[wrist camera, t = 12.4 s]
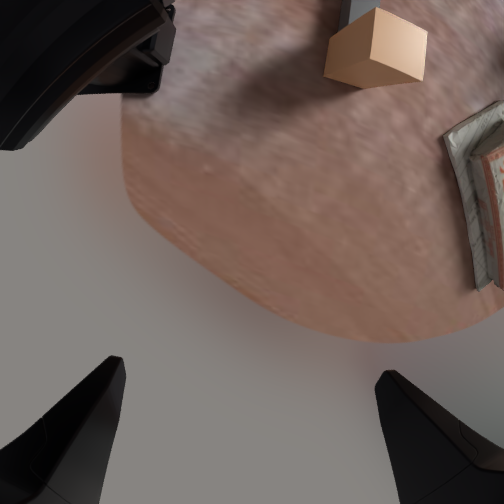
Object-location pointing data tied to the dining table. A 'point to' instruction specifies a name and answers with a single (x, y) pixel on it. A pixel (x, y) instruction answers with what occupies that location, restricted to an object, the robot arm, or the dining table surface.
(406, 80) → the scraper
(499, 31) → the dining table surface
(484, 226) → the packaged product
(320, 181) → the dining table surface
